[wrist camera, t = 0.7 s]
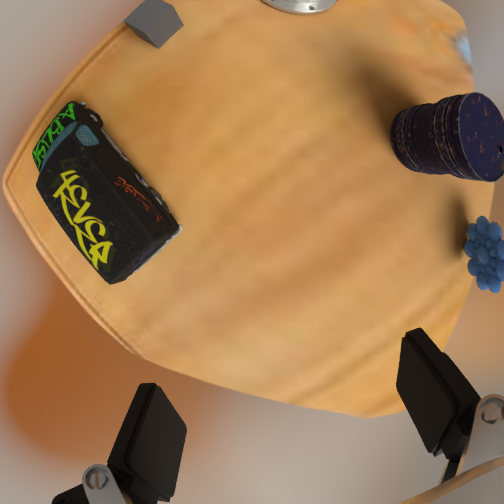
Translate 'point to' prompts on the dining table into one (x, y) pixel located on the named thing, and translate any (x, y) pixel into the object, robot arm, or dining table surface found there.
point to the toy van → (100, 195)
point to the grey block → (154, 21)
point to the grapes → (485, 254)
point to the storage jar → (452, 138)
